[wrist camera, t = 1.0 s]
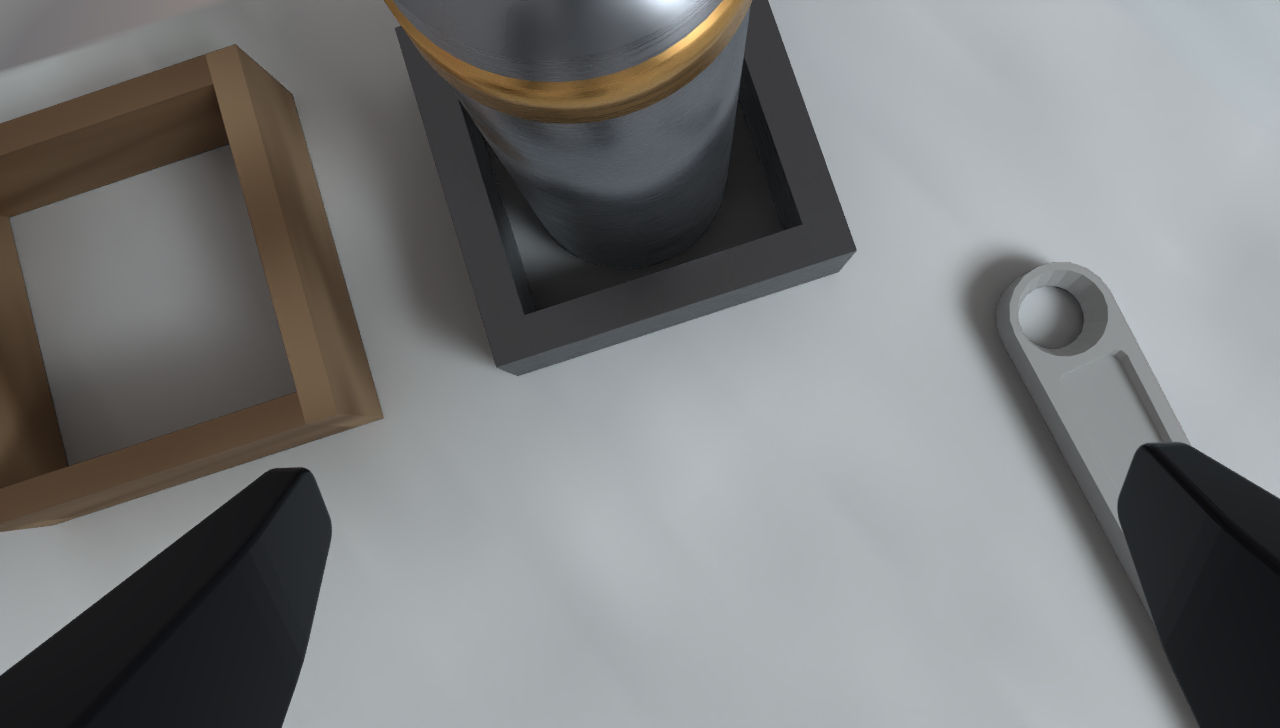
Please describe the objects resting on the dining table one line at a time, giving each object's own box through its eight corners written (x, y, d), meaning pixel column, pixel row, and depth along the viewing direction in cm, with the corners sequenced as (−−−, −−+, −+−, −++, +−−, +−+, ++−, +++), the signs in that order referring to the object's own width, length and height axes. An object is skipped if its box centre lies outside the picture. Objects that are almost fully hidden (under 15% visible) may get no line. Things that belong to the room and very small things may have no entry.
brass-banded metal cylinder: (646, 313, 23) (592, 155, 10) (482, 191, 23) (245, -99, 11) (773, 147, 23) (870, -204, 11) (607, 30, 24) (514, -433, 11)
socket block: (838, 272, 23) (856, 250, 20) (518, 375, 23) (496, 367, 20) (731, -31, 24) (736, -88, 21) (425, 71, 24) (394, 27, 21)
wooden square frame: (383, 418, 23) (337, 413, 20) (52, 525, 23) (-43, 537, 20) (292, 93, 24) (235, 44, 21) (-24, 200, 24) (-124, 166, 21)
